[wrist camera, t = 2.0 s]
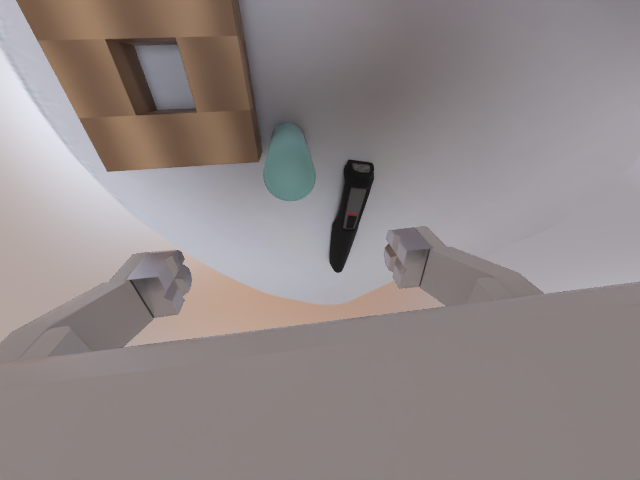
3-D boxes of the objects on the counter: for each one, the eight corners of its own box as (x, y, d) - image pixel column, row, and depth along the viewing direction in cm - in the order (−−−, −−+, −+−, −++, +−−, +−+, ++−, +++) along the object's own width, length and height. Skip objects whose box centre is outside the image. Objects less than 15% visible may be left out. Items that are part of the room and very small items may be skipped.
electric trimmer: (322, 259, 37) (325, 273, 35) (344, 158, 29) (350, 166, 26) (345, 260, 38) (350, 274, 35) (374, 162, 30) (382, 171, 27)
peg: (303, 121, 26) (314, 148, 16) (305, 156, 28) (316, 199, 18) (269, 123, 26) (259, 152, 16) (274, 158, 28) (267, 202, 18)
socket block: (232, -31, 19) (221, -54, 16) (262, 151, 27) (258, 161, 24) (41, -31, 18) (-14, -55, 15) (130, 159, 26) (107, 171, 23)
